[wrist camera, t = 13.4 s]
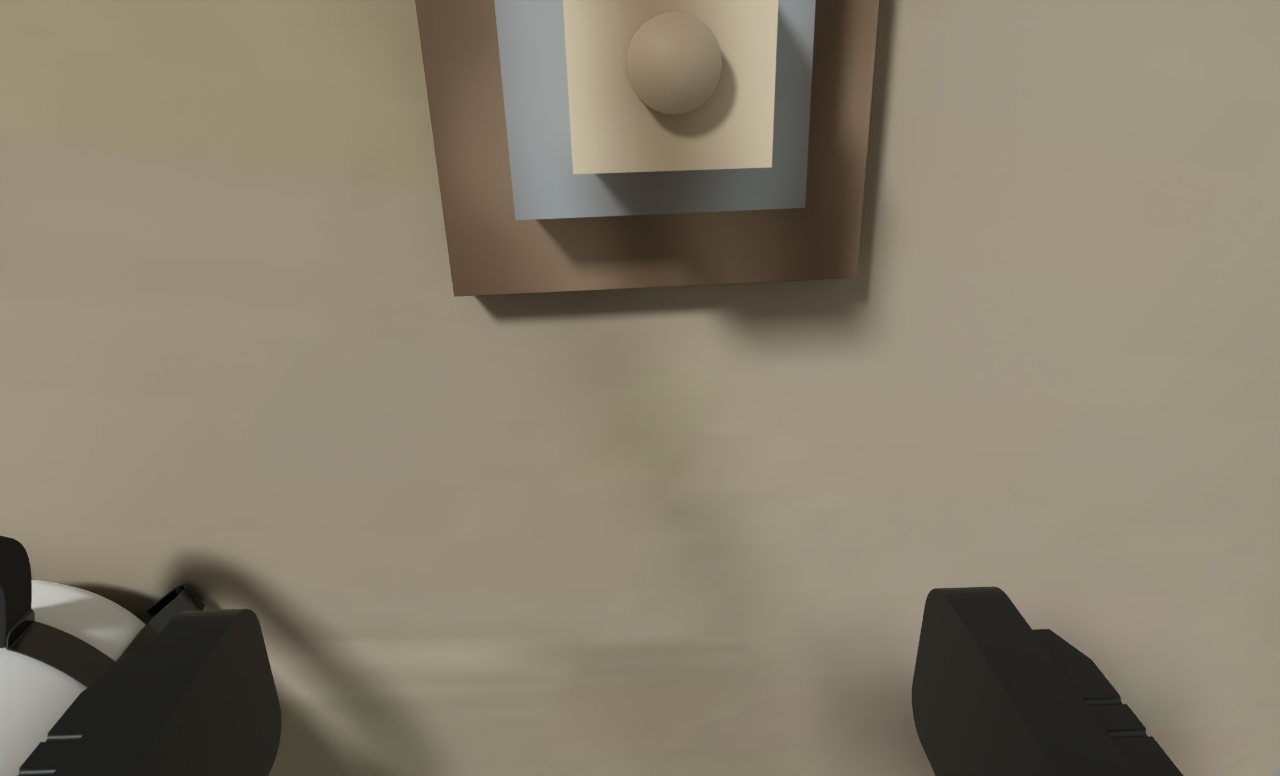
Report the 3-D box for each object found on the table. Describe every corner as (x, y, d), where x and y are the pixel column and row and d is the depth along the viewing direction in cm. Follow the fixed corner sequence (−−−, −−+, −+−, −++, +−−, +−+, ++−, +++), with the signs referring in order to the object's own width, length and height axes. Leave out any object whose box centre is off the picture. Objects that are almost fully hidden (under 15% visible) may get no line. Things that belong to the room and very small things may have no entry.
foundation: (878, -229, 27) (936, -283, 22) (842, 264, 34) (881, 300, 29) (398, -218, 26) (357, -270, 22) (462, 282, 33) (440, 321, 29)
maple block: (746, -42, 25) (787, -63, 19) (741, 144, 27) (777, 171, 21) (566, -37, 24) (558, -57, 19) (576, 150, 27) (572, 178, 21)
